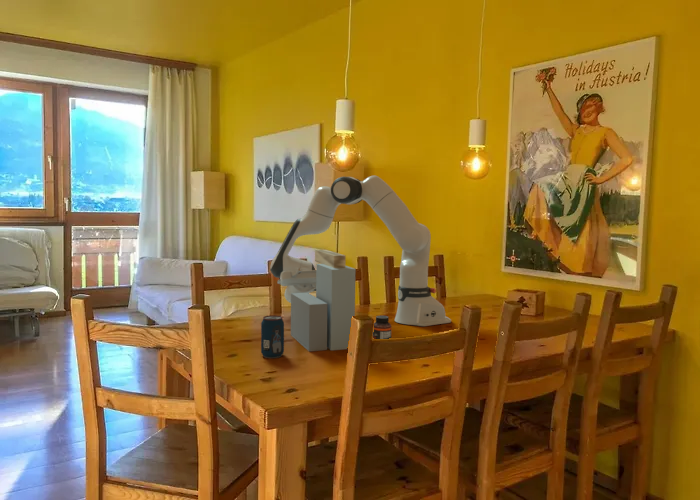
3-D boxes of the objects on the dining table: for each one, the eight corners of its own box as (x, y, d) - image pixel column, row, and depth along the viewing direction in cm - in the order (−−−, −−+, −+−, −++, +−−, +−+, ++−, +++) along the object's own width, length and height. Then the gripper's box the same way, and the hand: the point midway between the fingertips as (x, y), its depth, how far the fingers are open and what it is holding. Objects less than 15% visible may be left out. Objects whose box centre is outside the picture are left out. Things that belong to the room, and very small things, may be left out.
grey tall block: (337, 336, 195) (338, 263, 193) (354, 348, 180) (355, 268, 178) (315, 338, 192) (316, 263, 190) (330, 350, 178) (332, 269, 175)
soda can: (269, 351, 175) (269, 314, 174) (288, 354, 172) (288, 316, 171) (256, 356, 169) (256, 318, 168) (275, 360, 166) (275, 320, 165)
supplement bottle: (369, 349, 179) (369, 315, 178) (385, 348, 181) (386, 314, 180) (377, 354, 174) (377, 319, 172) (394, 353, 176) (394, 317, 175)
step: (307, 333, 199) (307, 292, 197) (326, 349, 178) (327, 303, 177) (290, 335, 196) (291, 293, 195) (309, 351, 176) (309, 304, 175)
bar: (325, 260, 200) (325, 249, 199) (345, 267, 181) (345, 255, 181) (314, 261, 198) (315, 250, 198) (333, 268, 180) (333, 255, 179)
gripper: (275, 276, 219) (283, 262, 207) (324, 274, 226) (334, 261, 214) (277, 291, 216) (285, 278, 204) (327, 289, 224) (337, 276, 212)
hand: (311, 269), depth 209 cm, fingers open, 8 cm apart
